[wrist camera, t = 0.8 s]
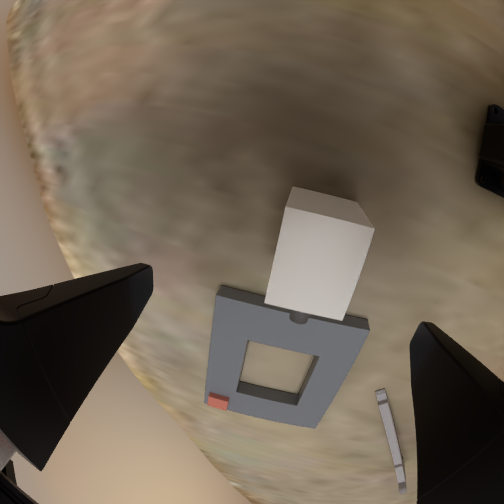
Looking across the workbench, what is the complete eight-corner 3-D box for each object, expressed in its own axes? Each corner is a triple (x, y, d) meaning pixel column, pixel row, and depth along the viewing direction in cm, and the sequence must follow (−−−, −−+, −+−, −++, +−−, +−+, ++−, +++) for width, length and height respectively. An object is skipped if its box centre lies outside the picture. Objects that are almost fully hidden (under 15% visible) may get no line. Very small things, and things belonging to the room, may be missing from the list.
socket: (367, 319, 22) (370, 335, 20) (315, 417, 27) (314, 432, 26) (221, 285, 23) (213, 299, 21) (208, 393, 29) (202, 407, 27)
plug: (357, 202, 19) (375, 228, 13) (330, 290, 22) (333, 340, 16) (292, 186, 19) (285, 206, 14) (272, 277, 22) (259, 324, 17)
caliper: (404, 460, 30) (407, 494, 24) (397, 462, 30) (400, 496, 24) (384, 386, 25) (392, 436, 19) (374, 389, 25) (380, 439, 19)
